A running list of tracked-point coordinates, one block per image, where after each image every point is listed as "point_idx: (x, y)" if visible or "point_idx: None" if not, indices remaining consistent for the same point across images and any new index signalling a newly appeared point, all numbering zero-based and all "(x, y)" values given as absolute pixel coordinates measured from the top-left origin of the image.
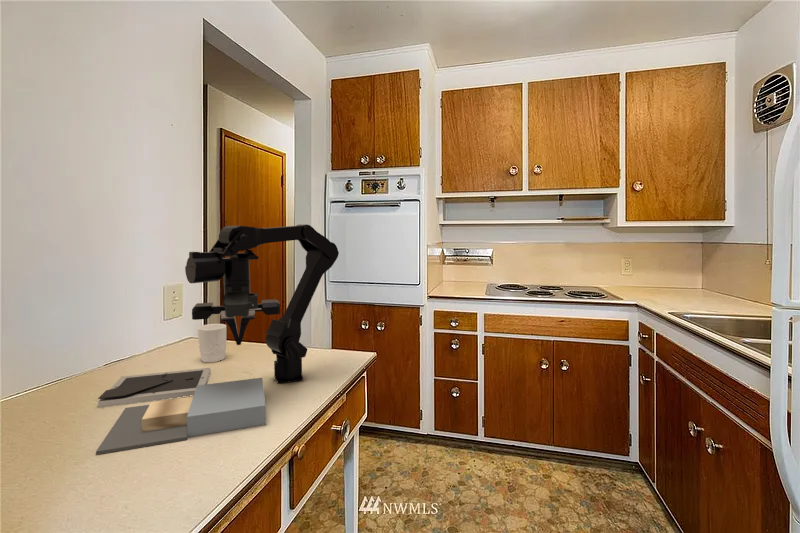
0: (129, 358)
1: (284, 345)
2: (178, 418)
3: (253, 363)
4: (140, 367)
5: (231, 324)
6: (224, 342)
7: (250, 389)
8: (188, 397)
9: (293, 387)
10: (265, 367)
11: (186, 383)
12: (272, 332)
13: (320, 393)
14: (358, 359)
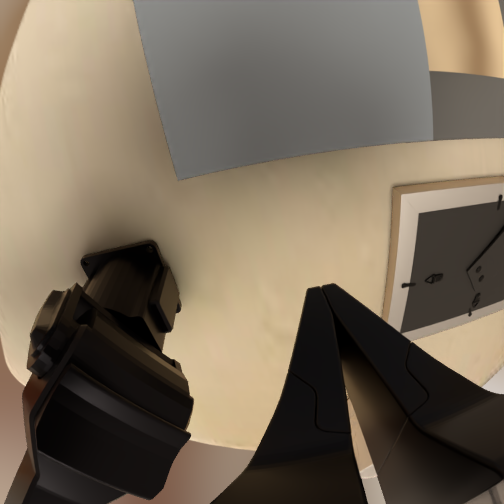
0: (487, 380)
1: (60, 325)
2: None
3: (272, 383)
4: (485, 352)
5: (463, 409)
6: (354, 435)
7: (201, 40)
8: (436, 67)
9: (95, 206)
10: (232, 361)
11: (442, 248)
12: (137, 425)
13: (11, 155)
14: (19, 361)
